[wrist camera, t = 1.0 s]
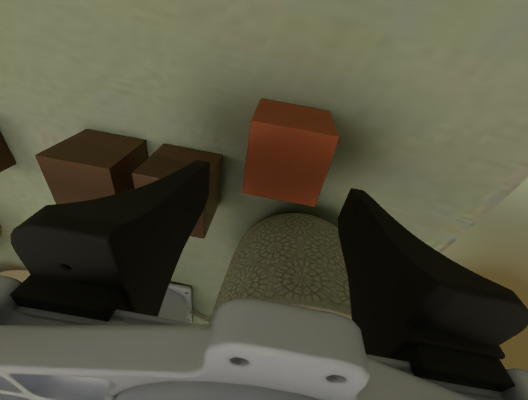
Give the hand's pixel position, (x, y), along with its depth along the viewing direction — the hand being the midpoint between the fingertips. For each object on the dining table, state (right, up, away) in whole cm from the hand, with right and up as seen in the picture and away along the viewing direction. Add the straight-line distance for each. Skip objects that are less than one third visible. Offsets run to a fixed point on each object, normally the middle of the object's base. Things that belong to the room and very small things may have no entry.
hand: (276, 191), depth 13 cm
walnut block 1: (-13, +3, +9) cm, 17 cm away
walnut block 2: (-7, +2, +9) cm, 12 cm away
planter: (+2, -5, +13) cm, 14 cm away
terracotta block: (+1, +4, +6) cm, 8 cm away
